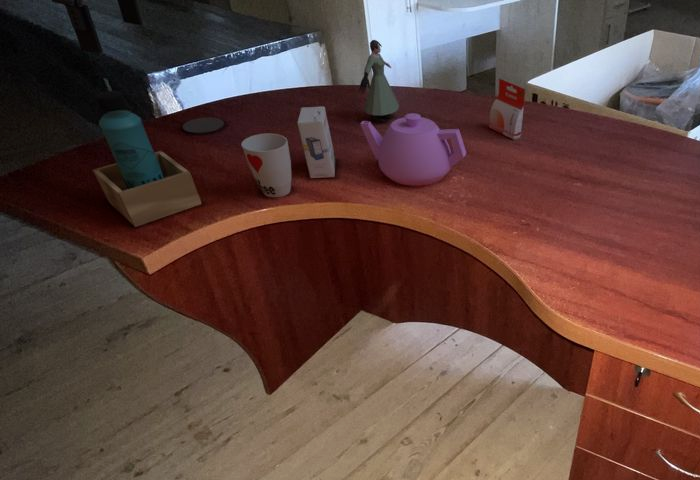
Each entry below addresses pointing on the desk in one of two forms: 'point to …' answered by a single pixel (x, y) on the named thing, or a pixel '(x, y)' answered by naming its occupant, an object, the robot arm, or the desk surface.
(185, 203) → the crate
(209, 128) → the coaster
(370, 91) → the character figurine
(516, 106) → the ink box
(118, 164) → the beverage bottle
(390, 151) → the teapot
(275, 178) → the cup
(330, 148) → the ink box
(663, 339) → the desk surface
